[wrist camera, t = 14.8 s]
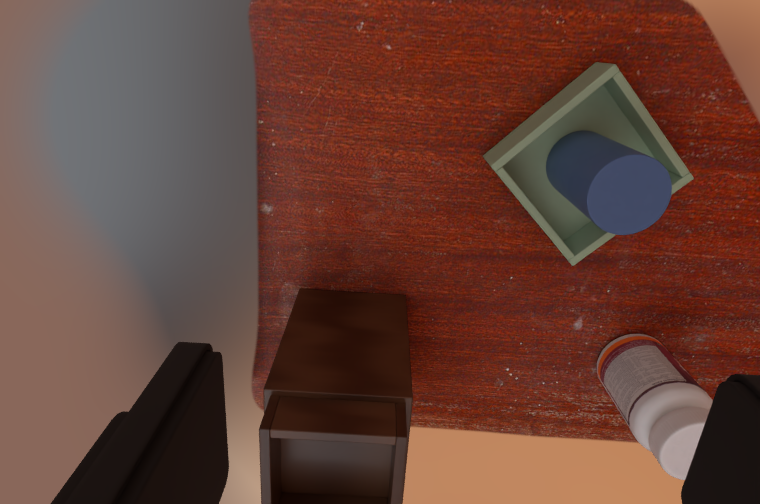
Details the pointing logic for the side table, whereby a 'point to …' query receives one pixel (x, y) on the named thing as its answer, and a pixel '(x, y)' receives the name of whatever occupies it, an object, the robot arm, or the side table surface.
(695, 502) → the robot arm
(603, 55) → the side table surface
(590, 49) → the side table surface
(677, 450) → the pill bottle
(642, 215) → the vial
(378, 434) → the stand
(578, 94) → the bin
